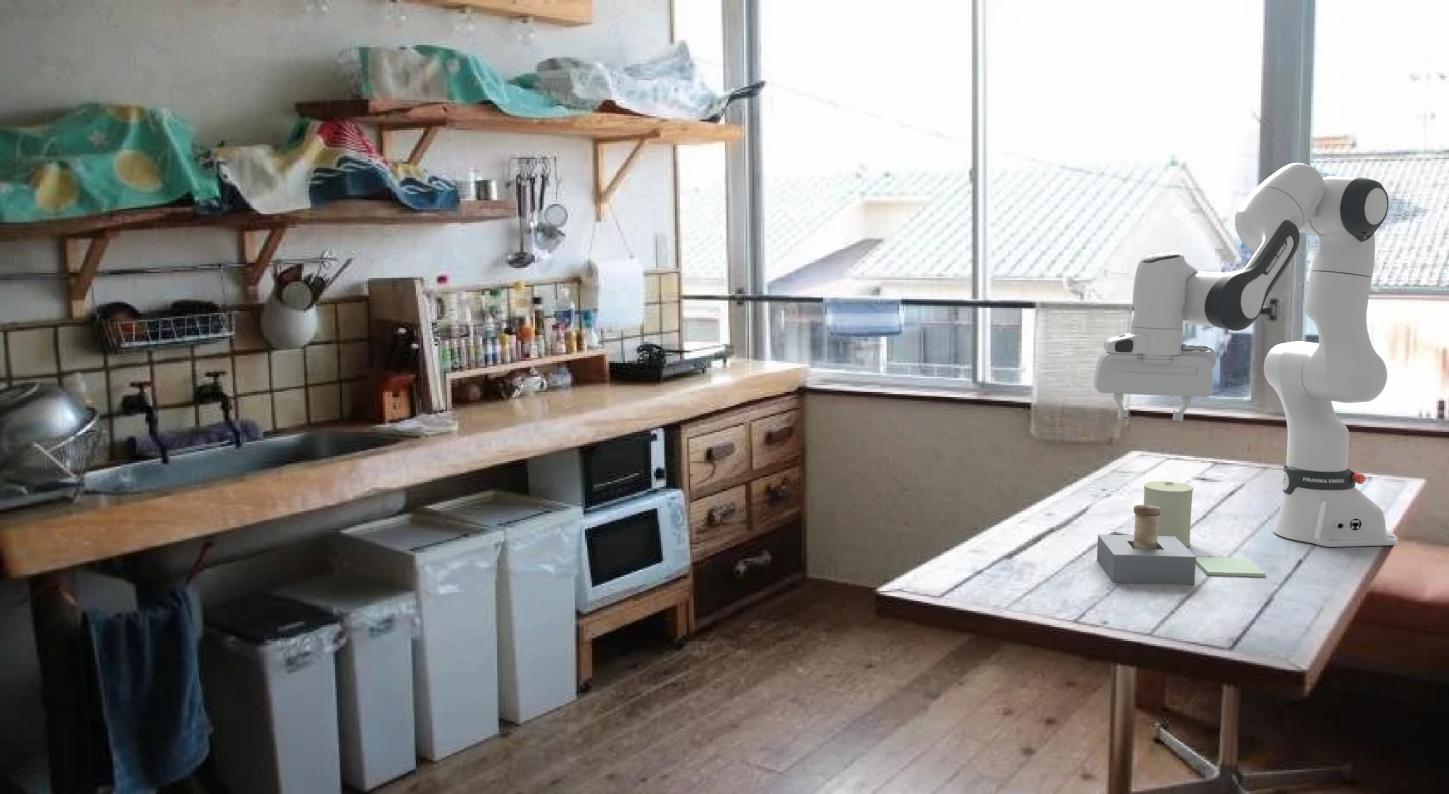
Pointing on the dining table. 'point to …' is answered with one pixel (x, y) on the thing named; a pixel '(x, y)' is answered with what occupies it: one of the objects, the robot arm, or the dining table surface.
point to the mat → (1229, 567)
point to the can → (1171, 508)
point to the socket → (1146, 560)
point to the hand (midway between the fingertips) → (1150, 419)
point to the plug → (1146, 526)
